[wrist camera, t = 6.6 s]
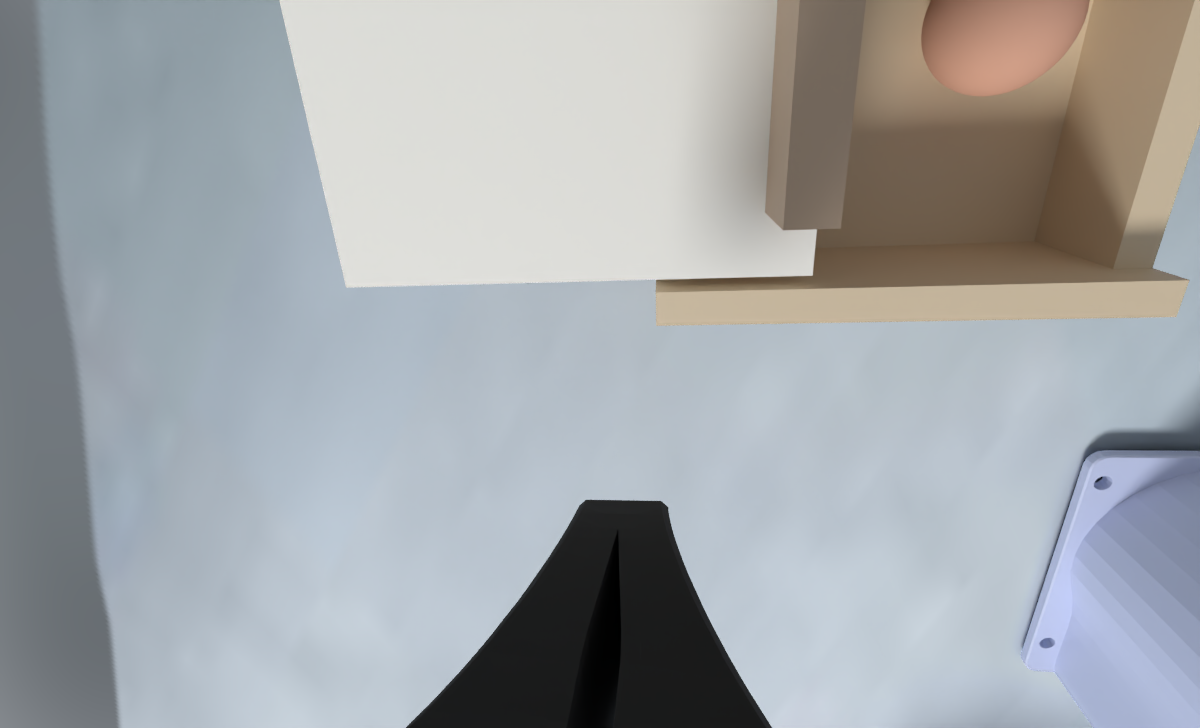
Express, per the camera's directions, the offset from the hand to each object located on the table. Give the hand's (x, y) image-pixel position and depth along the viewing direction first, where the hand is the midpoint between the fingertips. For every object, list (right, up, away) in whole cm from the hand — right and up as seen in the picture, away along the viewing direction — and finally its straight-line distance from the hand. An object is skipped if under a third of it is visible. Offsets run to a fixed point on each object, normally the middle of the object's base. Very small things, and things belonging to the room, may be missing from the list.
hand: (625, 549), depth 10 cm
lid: (-1, +10, +2) cm, 10 cm away
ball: (+8, +11, +4) cm, 15 cm away
